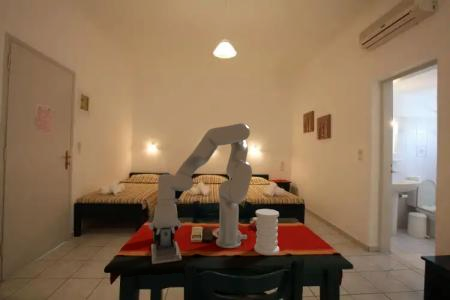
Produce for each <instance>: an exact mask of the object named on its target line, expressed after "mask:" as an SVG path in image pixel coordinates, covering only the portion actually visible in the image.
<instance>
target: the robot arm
mask: <svg viewBox="0 0 450 300" xmlns="http://www.w3.org/2000/svg"><path fill="white" fill-rule="evenodd" d="M250 130H251V129H250V127H249V126H248V125H247V124H245V123H243V122H241V123H235V124H230V125H225V126H219V127H218V126H217V127H214V128H210V129H208V130H207V131H206V133H204V136H203V137H202V139H201V140H200V141H199V143H198V144H197V145H196V147H195V148H194V150H193V151H192V152H191V154H189V156H188V157H187V158H186V159H185V160H184V161H183V163H182V164H181V166H179V168H178V170H177V171H176V173H175V175H174V174H170V173H167V174H160V175H159V176H158V178H157V179H158V180H157V204H155V208H154V210H155V214H154V213H153V220H152V222H151V223H149V225H148V228H149V230H150V231H154V232H155V233H156V235H157V241H158V244H159V243H160V229H161V228H168V227H171V229H172V231H171V242H173V241H175V233H176V232H177V231H178V230H179V229H180V228H181V227H182V226H183V223H182V222H181V221H180V220H179V219H178V210H177V203H178V202H179V199H178V198H176V191H178V192H187V191H190V190H191V189H192V188H193V186H194V180H193V178H192V177H193V175H194V173H196V171H197V170H199V168H201V167H203V166H205V165H206V164H207V163H208V162H209V161H210V159H211V158H212V156H213V154H214V153H215V152H216V150H217V149H218V147H219V146H227V145H230V146H231V147H230V148H231V149H230V152H229V153H230V154H229V157H228V162H227V165H226V170H225V171H226V174H227V176H228V177H229V178H231V180H223V182H221V183H220V184H219V187H218V198H219V199H218V200H219V220H218V221H219V228H218V229H219V230H218V231H219V232H218V233H219V235H218V236H219V237H218V238H216V240H215V244H216V246H218V247H219V248H224V249H234V248H238V247H240V246H241V244H242V241H241V240H246V239H248V235H247V234H243V233H239V212H240V211H239V209H240V208H239V204H241V203H243V202H244V200H245V199H246V198H247V195H248V192H249V188H250V183H251V180H252V176H253V168H252V166H251V164H250V163H249V162H248V161H247V157H248V151H249V149H248V148H249V147H248V144H247V141H246V140H247V139H248V138H250V134H251V131H250ZM154 226H155V228H154ZM156 228H157V229H156Z"/></svg>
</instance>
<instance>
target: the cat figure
mask: <svg viewBox="0 0 450 300" xmlns="http://www.w3.org/2000/svg"><path fill="white" fill-rule="evenodd" d="M257 217H258V216H256V217H252V220H250V221H249V223H250V224H251V227H252V228H253V230H255V229H256V225H257V221H256V219H257Z"/></svg>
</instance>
